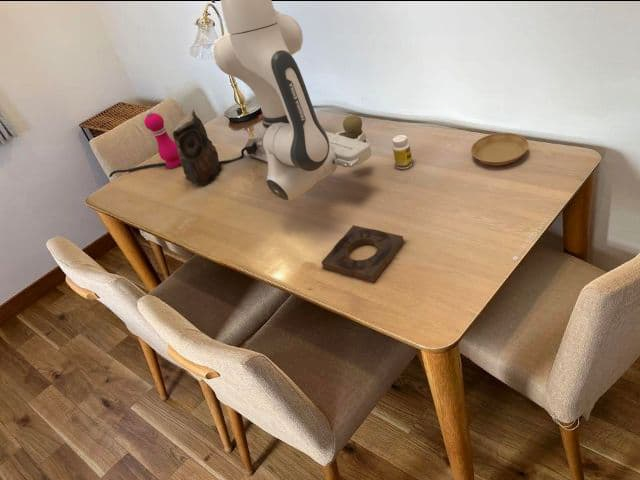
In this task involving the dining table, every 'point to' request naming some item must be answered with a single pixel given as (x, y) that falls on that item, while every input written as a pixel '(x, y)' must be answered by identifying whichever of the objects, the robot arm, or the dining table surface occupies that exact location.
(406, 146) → the supplement bottle
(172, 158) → the pepper mill
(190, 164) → the owl
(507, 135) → the plant saucer
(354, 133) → the pepper shaker
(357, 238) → the holder
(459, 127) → the dining table surface
